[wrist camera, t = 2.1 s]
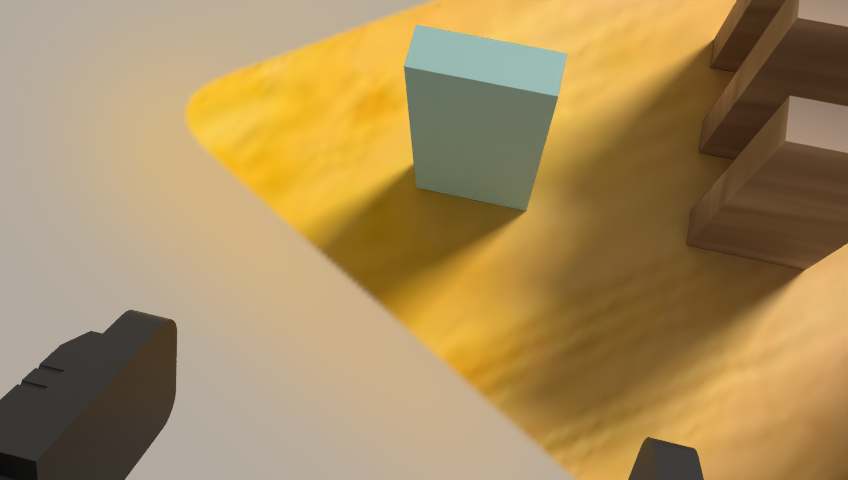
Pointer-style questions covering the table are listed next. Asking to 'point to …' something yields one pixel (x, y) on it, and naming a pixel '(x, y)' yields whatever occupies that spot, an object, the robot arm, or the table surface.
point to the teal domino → (479, 114)
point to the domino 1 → (742, 32)
